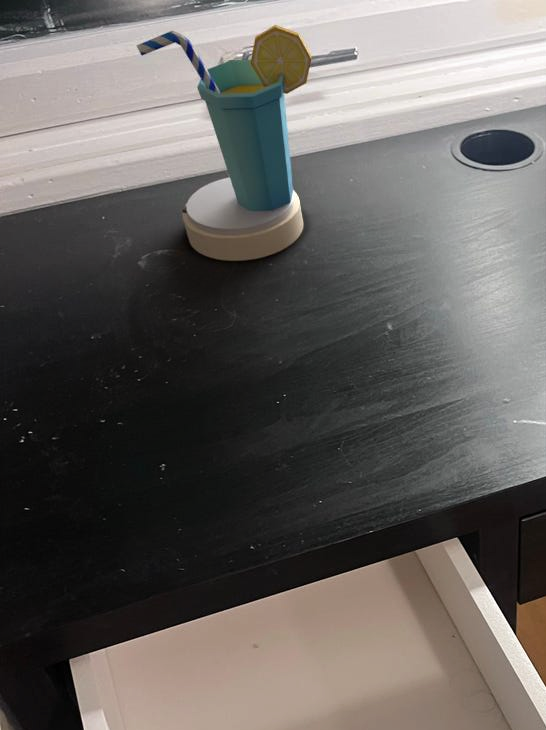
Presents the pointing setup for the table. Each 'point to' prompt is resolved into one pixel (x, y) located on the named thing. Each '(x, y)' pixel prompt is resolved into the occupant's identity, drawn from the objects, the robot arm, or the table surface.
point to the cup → (251, 111)
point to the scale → (238, 224)
